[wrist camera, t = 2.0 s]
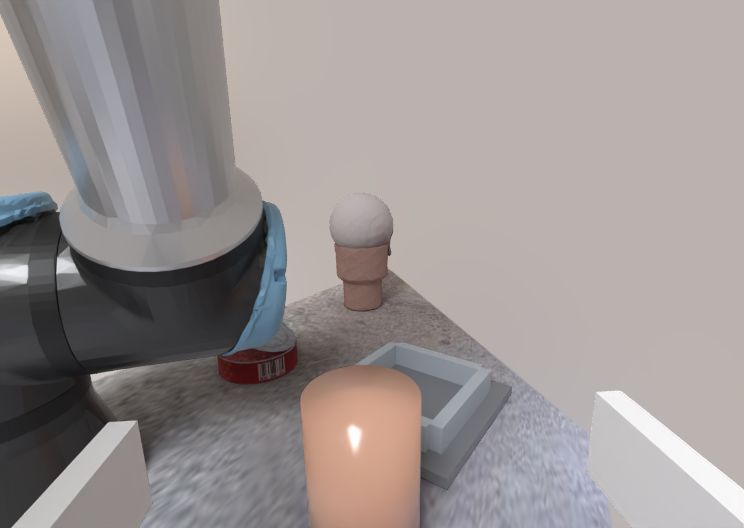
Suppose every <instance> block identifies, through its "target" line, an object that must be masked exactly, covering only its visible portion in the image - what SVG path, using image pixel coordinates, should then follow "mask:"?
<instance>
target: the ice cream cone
mask: <svg viewBox="0 0 744 528" xmlns="http://www.w3.org/2000/svg"><path fill="white" fill-rule="evenodd" d="M330 232H331V236H332V238H333V240H334V242H335V251H336V263H337V276H338V277H339V278H340V279H341V280H342V281H343V284H344V305H345V306H346V307H347V308H349V309H352V310H356V311H361V310H362V311H366V310H371V309H376V308H378V307H379V306H380V305H381V304H382V288H381V283H382V279H383V278H385V277H386V276H387V274H388V273H387V272H388V268H387V259H388V256H390V255H391V249H390V239H391V236H392V234H393V218H392V216H391V213H390V211H389V209H388V207H387V205H386V204H385V203H384V202H383V201H382V200H381V199H379V198H377V197H376V196H373V195H370V194H366V193H355V194H352V195H349V196H347V197H345V198H344V199H343V200H341V201H340V202H339V203H338V204H337V205H336V206H335V208H334V210H333V212H332V214H331V217H330Z"/></svg>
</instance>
